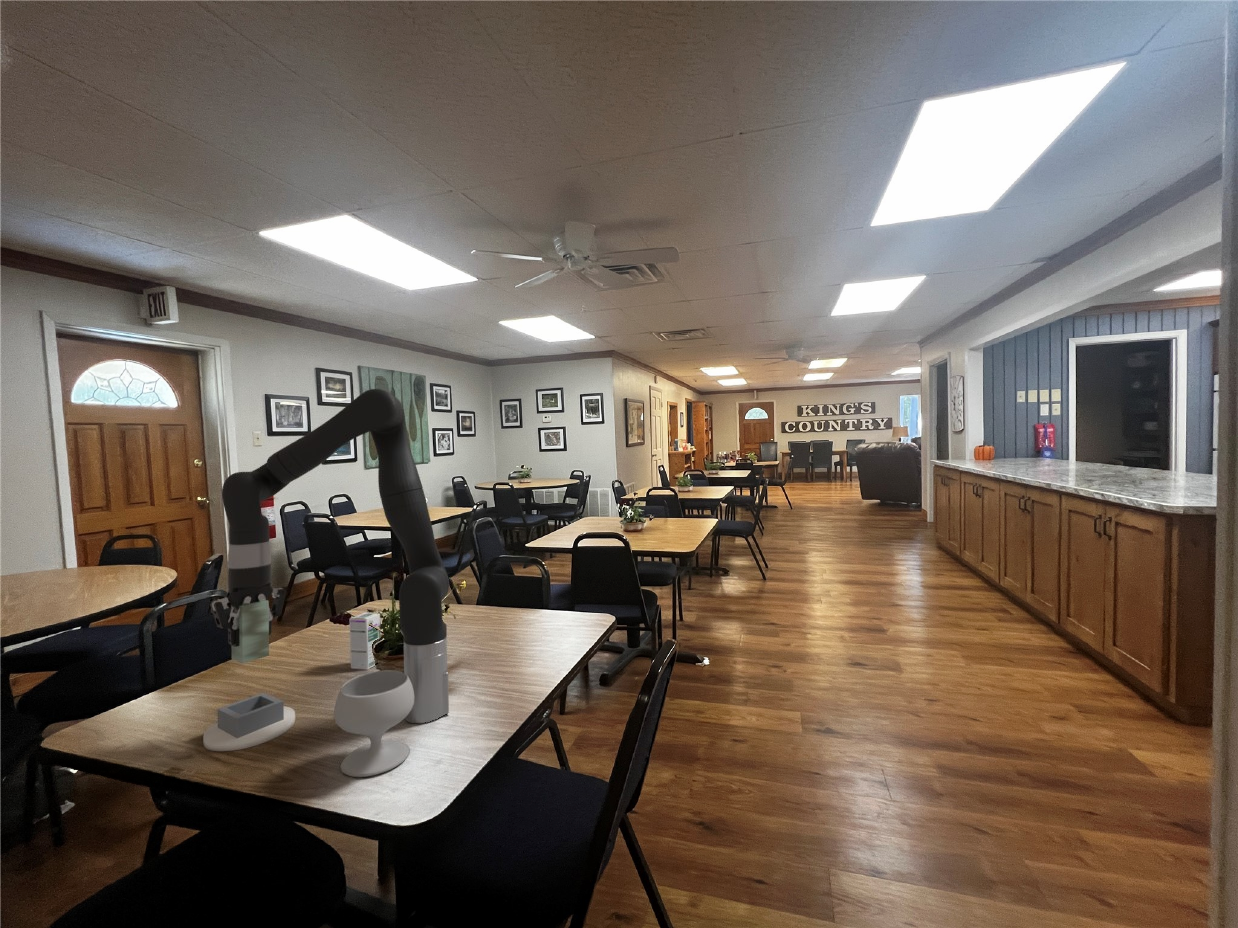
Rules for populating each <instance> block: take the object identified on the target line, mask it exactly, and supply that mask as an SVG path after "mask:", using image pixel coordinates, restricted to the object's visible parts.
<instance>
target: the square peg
mask: <svg viewBox="0 0 1238 928" xmlns="http://www.w3.org/2000/svg"><path fill="white" fill-rule="evenodd" d="M269 603H270V602H269V600H266V601H262V602H254V603H249V604H248V605H243V606H241V605H240V606H239V608H240V611H241V617H240V619H239V623H240V625H239V627H238V629H239V646H237V647H234V646H232V645H231V660H233V661H235V662H238V663H240V664H246V663H249V662H253V661H256V660H259V659H263V658H265V657H269V656H270V635H269V608H270V606H269ZM232 608H233V606H232V605H231V604H230V611H231V610H232ZM238 611H239V609H238V610H236V609H235V608H234V612H235V613H238Z"/></svg>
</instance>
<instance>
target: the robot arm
mask: <svg viewBox="0 0 1238 928" xmlns="http://www.w3.org/2000/svg"><path fill="white" fill-rule="evenodd" d="M369 432H370V434H371V438H372V440H373V443H374V447H375V449H376V454H377V460H378V463H377V465H378V467H377V469H378V471H377V473H378V474H377V476H378V477H377V482H378V483H377V484H378V491H379V496H380V501H381V505H382V510H383V513H384V515H385V518H386V520H387V523H388V525H389V527H390V528H391V530H392V532H393V533H394V535H395V536H396V538H397V539H398V541H399V542H400V544H401V546H402V548H403V550H404V553H405V556H406V560H407V565H408V570H409V571H408V572H409V574H408V575H407V576H406V577H405V578H404V579H403V581H402V582H401V585H400V587H399V594H398V605H399V610H398V611H399V624H400V625H399V626H400V630H401V632H402V635H403V673H405V674H406V675H407V676H408V678H409V679H410V681H411V683H412V686H413V690H414V705H413V707H412V709H411V711H410V712H409V714H408V715H407V716H406V717H405V718H404V719H405V721H407V722H409V723H412V724H425V722H426V723H431V722H433V721H432V720H434V721H436V720H435V719H437V720H439V719H440V718H439V717H441V716H443V715H445V714H448V713H449V714H450V711H449V709H450V705H449V703H450V701H449V700H450V699H449V698H450V697H449V691H450V690H449V672H448V647H447V646H448V643H447V642H448V639H447V637H448V634H447V624H446V623H445V622H444V621H443V603H442V602H443V600H444V599H445V598H446V597H447V595H448V593H449V590H450V579H449V576H448V573H447V570H446V567H445V565H444V563H443V560H442V558H441V557H442V556H441V555H440V552H439V549H438V546H437V544H436V543H437V542H436V538H435V534H434V529H433V525H432V521H431V517H430V513H429V508H428V507H429V506H428V504H427V503H428V502H427V500H426V496H425V492H424V488H423V484H422V481H421V477H420V474H419V471H418V469H417V464H416V462H415V459H414V456H413V454H412V451H411V447H410V442H409V437H408V429H407V423H406V415H405V409H404V406H403V404H402V403H401V400H399V399H398V398H397V397H396V396H395V395H393V394H392V393H390V392H389V391H386V390H384V389H380V388H372V389H367V390H366V391H364V392H362V393H361V394H359V395H357V397H356V398H355V399H353V400H352V401H351V402H349V403H348V404H347V405H346V406H344V408H342V409H341V410H340V411H339V412H338V413H336V414H335V415H333V416H332V417H331V418H330V419H328V420H327V421H325V422H324V423H321V425H320V426H318V427H316V428H314V429H313V430H311V431H309V432H308V433H307V434H305V435H303V436H301V437H300V438H298V439H296V440H295V441H293V442H291V443H289V444H288V445H286V446H284V447H282V448H281V449H279V450H278V451H276V452H274V453H272V454H271V455H270V456H269V457H268V458H267V460H266V462H265V463H263V464H262V465H260V466H259V467H257V468H256V469H253V470H251V471H238V472H235V473H232V474H230V475H229V476H227V478H226V479H225V481H224V482H223V484H222V489H221V498H222V503H223V507H224V511H225V515H226V518H227V521H228V523H229V526H228V527H229V528H228V530H229V531H228V532H229V533H228V537H229V538H228V539H229V540H228V541H229V542H228V544H229V546H228V552H227V553H228V554H227V561H226V562H227V563H226V564H227V582H228V583H227V586H228V592H227V593H226V596H225V597H224V598H221V599H218V600H212V601H210V603H209V605H210V608H211V611H212V615H213V617H214V622H215V625H216V627H218V628H221V629H224V630H225V629H227V642H228V644H229V645H230V646H231V647H232V646H234V647H237V646H239V629H238V627H239V625H240V623H239V619H240V617H241V611H240V608H239V606H240V605H241V606H243V605H248V604H249V603H254V602H262V601H266V600H267V601H269V598H271V597H272V599H273V600H272V602H271V603H272V604H271V607H269V636H271V635H272V621H273V619H274V618H276V617H280V616H282V613H283V608H284V604H285V599H286V596H287V589H286V588H282V587H277V588H273V587H272V585H271V584H272V551H271V546H270V523H269V522H270V521H269V519H268V517H267V516H266V515H263V513H262V507H261V503H262V502H265V501H267V500H268V499H270V498H272V497H273V496H275V495H277V494H278V493H279V492H281V491H282V490H283V489H284V488H286V487H287V486H288V485H290V483H291V482H293V481H296V480H297V479H299V478H301V477H302V476H304V475H306V474H307V473H309V472H311V471H313V470H314V469H315V468H318V467H319V466H320V465H321V464H323V463H324V462H325V461H327V460H328V459H329V458H330V457H331V456H333V455H334V454H335V452H337V451H338V450H340V448H342V447H343V446H344V445H346V444H348V443H349V442H350V441H352V440H354V439H356V438H358V437H360V436H362V435H365V434H367V433H369ZM228 604H229V605H230V606H231V605H232V606H233V608H232V610H231V609H230V613H229V619H228V618H227V615H226V611H225V610H226V609H227V605H228ZM234 608H235V609H236V610H238V609H239V611H238V613H235V612H234ZM445 716H446V715H445ZM443 717H444V716H443ZM438 718H439V719H438ZM441 718H442V717H441ZM430 721H431V722H430Z"/></svg>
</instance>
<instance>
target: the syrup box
mask: <svg viewBox="0 0 1238 928" xmlns="http://www.w3.org/2000/svg"><path fill="white" fill-rule="evenodd" d="M370 623H372V624H373V625H374V626H376V627H380V628H381V614H380V613H379V612H370V611H369V612H362V613H360V614H358V615H355V616H353V617H350V618H349V649H350V654H349V655H350V668H351V669H353V670H354V669H355V670H363V671H364V670H367V671H368V670H370V669H371V668H373V667H375V666H376V665H375V660H374V658H373V653H372V644H373V642H374V641H375V640H377V639H379V638H381V629H380V630H376V629H375V628H373V627H371V626H369V624H370Z"/></svg>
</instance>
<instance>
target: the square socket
mask: <svg viewBox="0 0 1238 928" xmlns="http://www.w3.org/2000/svg"><path fill="white" fill-rule="evenodd" d="M295 722H296V712H295V709H293V708H291V707H289V706H285V705H284V701H283V700H282V699H280V698H277V697H275V696H272V695H270V694H269V693H266V692H261V693H257V694H256V695H253V696H250V697H246V698H244V699H242V700H238V701H236V702H233V703H231V704H227V705H225V706H222V707H219V708H217V722H215V723H214V724H212V725H210V727H208V728H207V729H206V730H205V732H204V733H203V737H202V738H203V740H202V742H203V747H204V748H205V749H206V750H209V751H214V752H233V751H238V750H244V749H249V748H251V747H255V746H258V745H261V744H263V743H266V742H269V741H271V740H274V739H276V738H277V737H279V736H281V735H283V734H284V733H286V732H288V731H289V730H290V729H291V728H292V727H293V726H294V724H295Z"/></svg>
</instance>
